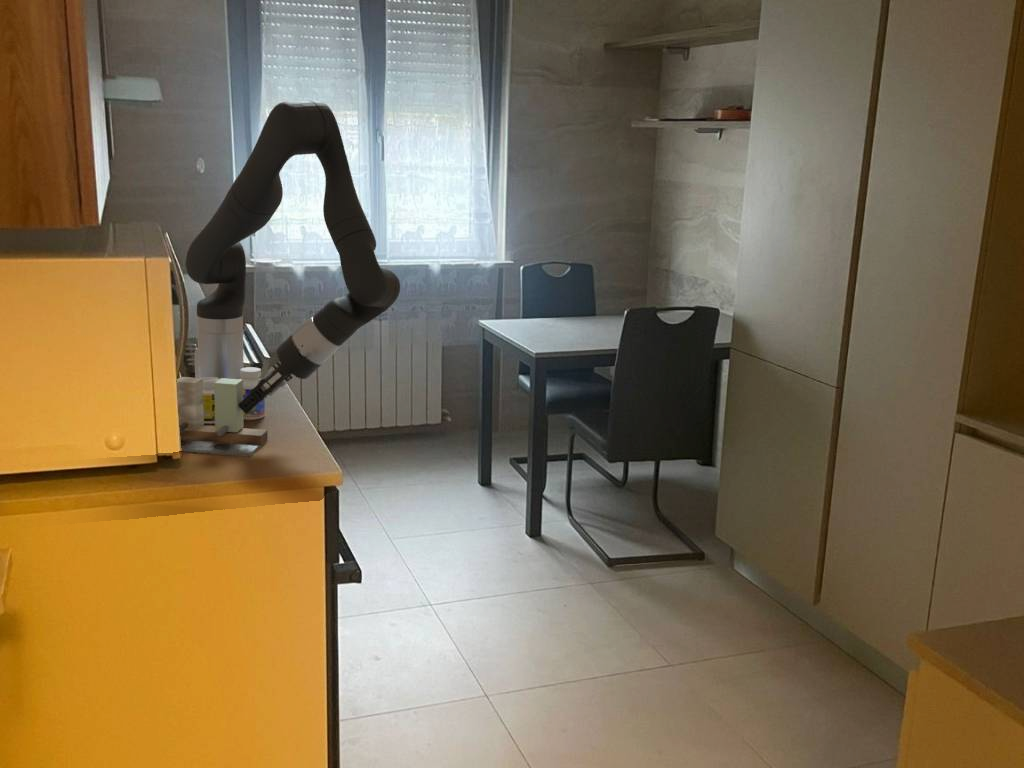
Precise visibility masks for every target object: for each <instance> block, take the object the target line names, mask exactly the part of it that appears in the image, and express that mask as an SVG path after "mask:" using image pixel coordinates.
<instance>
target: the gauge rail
mask: <svg viewBox="0 0 1024 768" xmlns="http://www.w3.org/2000/svg"><path fill="white" fill-rule="evenodd" d="M176 380H177V390H178V413H179V427H180V436H181V439H188V440H202V441H215V442H229V443H242V444H255V445H260V447H262V446H263V445H264V444H266V442H268V429H259V428H245V427H243V428H241V429H240V430H239V431H238V432H225V433H224V434H223V435H222V436H218V435H217V431H215V425H208V424H206V425H205V424H204V410H203V378H195V377H188V376H181V377H179V378H177V379H176Z"/></svg>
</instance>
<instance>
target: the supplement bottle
mask: <svg viewBox="0 0 1024 768" xmlns="http://www.w3.org/2000/svg"><path fill="white" fill-rule="evenodd" d="M218 380H219V378H216V377H203V410H204V425H205V424H206V425H213V424H214V425H215V396H214V383H215V382H216V381H218Z"/></svg>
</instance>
